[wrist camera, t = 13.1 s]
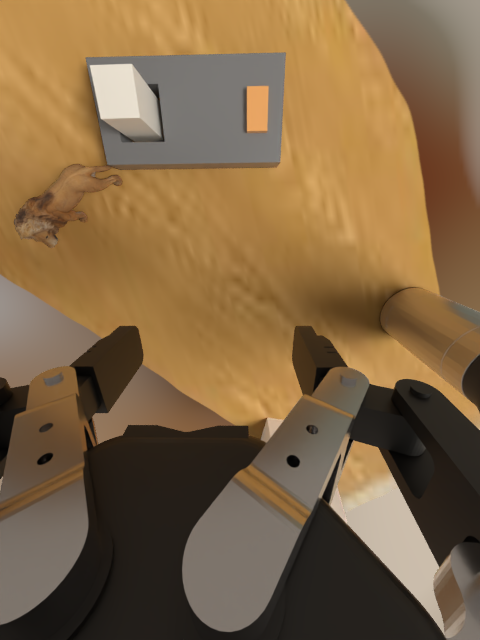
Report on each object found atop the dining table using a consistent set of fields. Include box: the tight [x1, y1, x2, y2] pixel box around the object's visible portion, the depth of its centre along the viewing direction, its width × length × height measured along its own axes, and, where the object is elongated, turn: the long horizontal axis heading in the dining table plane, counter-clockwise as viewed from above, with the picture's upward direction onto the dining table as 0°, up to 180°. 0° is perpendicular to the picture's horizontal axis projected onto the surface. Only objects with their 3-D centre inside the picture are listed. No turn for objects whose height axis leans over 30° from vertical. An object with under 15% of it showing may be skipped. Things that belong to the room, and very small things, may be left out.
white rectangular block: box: [90, 64, 165, 142], centre depth 27 cm, size 4×4×9 cm
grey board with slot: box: [86, 53, 286, 170], centre depth 29 cm, size 22×10×4 cm, turn 91°
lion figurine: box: [14, 164, 122, 248], centre depth 30 cm, size 15×5×9 cm, turn 135°
